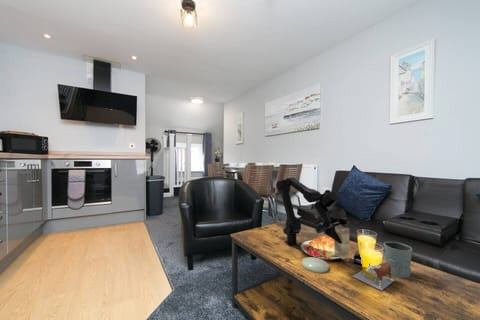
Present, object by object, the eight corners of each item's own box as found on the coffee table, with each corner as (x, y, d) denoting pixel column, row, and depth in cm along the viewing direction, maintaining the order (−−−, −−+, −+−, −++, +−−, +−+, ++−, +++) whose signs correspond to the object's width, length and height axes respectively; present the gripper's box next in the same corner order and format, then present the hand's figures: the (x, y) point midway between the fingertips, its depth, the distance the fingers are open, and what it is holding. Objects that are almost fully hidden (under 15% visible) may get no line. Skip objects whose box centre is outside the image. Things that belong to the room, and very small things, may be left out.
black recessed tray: (343, 262, 97) (343, 253, 97) (347, 257, 103) (347, 248, 103) (373, 271, 89) (373, 261, 89) (375, 265, 95) (375, 256, 95)
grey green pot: (388, 276, 85) (388, 248, 85) (380, 264, 94) (380, 239, 95) (417, 280, 81) (417, 252, 82) (406, 268, 91) (406, 242, 91)
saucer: (297, 261, 98) (297, 258, 98) (317, 258, 101) (317, 255, 101) (311, 274, 86) (311, 271, 86) (334, 270, 89) (334, 268, 89)
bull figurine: (363, 283, 80) (363, 263, 80) (384, 275, 85) (384, 257, 85) (374, 290, 76) (374, 269, 76) (395, 281, 81) (395, 262, 81)
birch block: (334, 255, 90) (334, 227, 90) (340, 253, 92) (340, 225, 92) (343, 259, 86) (343, 230, 86) (349, 257, 88) (349, 228, 88)
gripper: (320, 205, 89) (343, 238, 79) (346, 201, 97) (369, 230, 87) (307, 218, 96) (326, 249, 86) (332, 213, 104) (352, 241, 94)
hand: (344, 242), depth 88 cm, fingers closed on birch block, 4 cm apart
